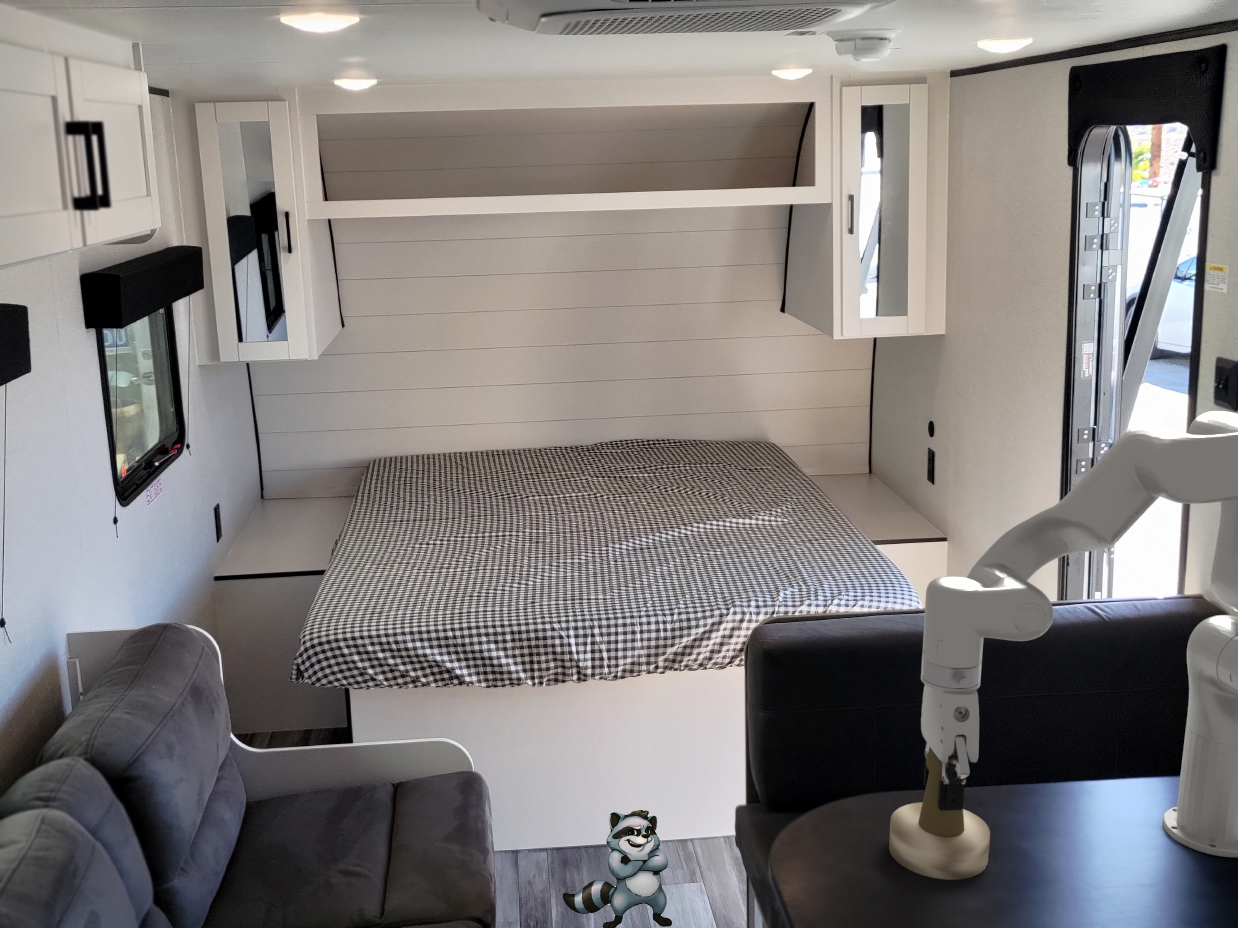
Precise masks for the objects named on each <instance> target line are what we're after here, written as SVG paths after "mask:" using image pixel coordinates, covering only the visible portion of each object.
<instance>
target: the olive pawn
mask: <svg viewBox="0 0 1238 928" xmlns="http://www.w3.org/2000/svg"><path fill="white" fill-rule="evenodd" d="M948 759H955V755H951V756H948ZM925 760H926V765H927V768H928V770H929V776H928V780H927V785H926V788H925V790H924V795H923V800H922V802H923V803H922V808H921V812H920V817H919V826H920V827H921V828H922V829H923V830H924V831H926V832H928V833H930V834H933V835H937V836H942V837H954V836H958V835H960V834H962V833H963V832H964V815H963V809H964V807H963V808H962V809H961V810H940V809H939V808H938V795H939V781H942V761H941V760H939V758H938V757H937V756H936V754H935V753H934V752H933V750H932V749H930V751H929V752H928V753H927V756H926V757H925ZM948 767H949V772H950V771H951V770H955V768H956V765H948Z"/></svg>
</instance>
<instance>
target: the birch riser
mask: <svg viewBox="0 0 1238 928" xmlns="http://www.w3.org/2000/svg"><path fill="white" fill-rule="evenodd" d="M922 803H923V801H922V802H921V801H920V802H913V803H910V804H909V803H908V804H906V805H903V806H899V807H898V808H897V809H896V810H895V811H893V813H892V814H891V816H890V822H889V823H890V824H889V825H890V826H889V838H888V839H889V841H888V843H889V844H888V851H889V853H890V855H891V857H892V859H894V860H895V861H896V862H897V863H898V864H899V865H900V866H902V867H903V868H905V869H906V870H909V871H911V872H913V873H916V874H918V875H921V876H925V877H928V878H933V879H937V880H938V879H939V880H954V881H955V880H965V879H969V878H972V877H975V876H977V875H979V874H981V873H982V872H984V871H985V869H986V868H987V867H986V866H988V863H989V854H990V843H991V842H990V840H991V830H990V827H989V826H988V824H987V823H986V821H984V820H983V819H982V818H981V817H979V816H978V815H977V814H974V813H973V812H971V811H969V810H966V809H964V808H963V815H964V832H963V833H962V834H960V835H958V836H954V837H942V836H937V835H933V834H930V833H928V832H926V831H924V830H923V829H922V828H921V827H920V826H919V817H920V812H921V808H922Z"/></svg>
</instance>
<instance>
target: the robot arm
mask: <svg viewBox="0 0 1238 928" xmlns="http://www.w3.org/2000/svg"><path fill="white" fill-rule="evenodd" d="M1187 431H1188V432H1187V433H1186V432H1184V431H1180V430H1178V429H1174V428H1171V427H1167V426H1163V425H1159V424H1153V423H1151V424H1150V423H1142V424H1138V425H1136V426H1132V427H1131V428H1129V429H1128V430H1127V431H1126V432H1124V433H1123V434H1122V435H1121V436H1119V438H1118V439H1117V440H1116V441H1115V442H1114V444H1113V445H1112V446H1110V448H1109V449H1108V450H1107V451H1105V453H1104V454H1103V455H1102V456H1101V457H1100V459H1098V461H1096V463H1095V464H1094V465H1093V466H1092V467H1091V468H1090V469H1089V471H1087V473H1086V474H1084V476H1083V477H1082V478H1081V479H1080V480H1079V481H1078V482H1077V483H1076V484H1075V485H1074V486H1073V488H1072V489H1071V490H1070V491H1069V492H1068V493H1067V494H1066V495H1065V496H1064V497H1063V498H1062V499H1061V500H1059V502H1057V503H1056V504H1055V505H1053V506H1051V507H1048V508H1046V509H1044V510H1042V511H1040V512H1038V513H1036V514H1035V515H1033V516H1031V517H1029V518H1027V519H1026V520H1024V521H1022V522H1020V523H1018V524H1017V525H1014V526H1013V527H1011V528H1009V530H1007V531H1006V532H1004V534H1003V535H1001V536H999V538H998V539H997V540H996V541H995V542H994V543H992V545H991V546H990V547H989V548H988V549H987V550H986V551H985V552H984V554H983V555H982V556H980V558H979V559H978V560H977V561H976V563H974V565H973V566H972V568H971V569H970V571H969V573H968V574H967V575H966V577H963V576H957V575H956V576H955V575H954V576H952V575H948V576H940V577H937V578H934V579H932V580H931V581H930V582H929V583H928V585H927V587H926V592H925V603H924V604H925V606H924V618H923V619H924V621H923V623H924V624H923V638H922V640H923V641H922V655H921V669H920V670H921V671H920V672H921V673H920V680H921V682H922V683H923V685H924V686H923V693H922V702H921V703H922V704H921V717H920V730H921V734H922V737H923V739H924V740H925V742H926V743H925V750H924V756H925V758H926V756H927V753H928V752H929V751H930V749H932V750H933V752H934V753H935V754H936V756H937V757H938V758H939V760H941V761H942V781H939V795H938V808H939V809H940V810H961V809H962V808H963V809H964V796H965V795H964V794H965V784H966V783H967V780H966V779H967V777H969V775H970V773H971V772H970V771H971V770H970V765H969V762H970V763H972V764H975V763H977V762H978V759H979V751H980V750H979V746H980V743H979V742H980V741H979V740H980V714H979V713H980V707H979V695H978V694H979V693H978V689H979V688H980V686H981V679H982V678H981V676H982V666H983V665H982V663H983V651H984V650H983V648H984V647H983V646H984V638H989V639H996V640H1006V641H1013V642H1016V641H1017V642H1025V641H1031V640H1035V639H1037V638H1039V637H1041V636H1043V635H1044V634H1046V632H1047V631H1048V630H1049V629H1050V628H1051V626H1052V623H1053V620H1054V608H1053V605H1052V602H1051V600H1050V599H1049V597H1048V596H1047V595H1046V594H1045V592H1043V591H1042V590H1041V589H1039V587H1037V586H1035V585H1034V584H1032V583H1031V582H1029V580H1030V578H1032V576H1034V575H1035V574H1036V573H1037V572H1038V571H1039V570H1040V569H1041V568H1043V567H1044V566H1046V565H1047V564H1049V563H1051V562H1053V561H1055V560H1056V559H1059V558H1062V557H1064V556H1068V555H1070V554H1071V555H1072V554H1078V553H1079V554H1080V553H1088V552H1094V551H1095V552H1096V551H1100V550H1105V549H1108V548H1111V547H1112V546H1115V545H1116V544H1117V543H1118V542H1119V541H1120V539H1121V538H1122V537H1123V536H1124V535H1125V534H1126V533H1127V532H1128V531H1129V530H1130V528H1131V527H1133V525H1134V524H1135V523H1136V522H1137V521H1138V520H1139V519H1140V518H1141V517H1142V516H1143V515H1144V513H1146V511H1148V509H1149V508H1150V507H1151V506H1152V505H1153V504H1154V503H1155V502H1156V501H1157V500H1158V499H1159V498H1160V497H1161V498H1163V499H1166V500H1168V501H1172V502H1174V503H1177V504H1184V505H1185V504H1187V505H1192V504H1193V505H1194V504H1195V505H1197V504H1209V503H1210V504H1212V503H1219V502H1220V518H1219V526H1218V531H1217V537H1216V544H1215V550H1214V556H1213V560H1212V561H1213V562H1212V567H1211V574H1210V588H1211V591H1212V593H1213V595H1214V597H1215V598H1216V599H1217V600H1218V601H1219V602H1221V603H1222V604H1224V605H1225V606H1227V608H1230V609H1231V610H1233V611H1235V612H1237V613H1238V413H1236V412H1231V411H1223V410H1212V411H1206V412H1204V413H1202V414H1200V415H1198V416H1197V417H1195V419H1194V420H1193V421H1192V422H1191V424H1190V426H1189V427H1188V430H1187ZM1186 664H1187V674H1188V688H1189V689H1188V703H1187V704H1188V706H1187V717H1186V724H1185V733H1184V743H1183V751H1182V760H1181V766H1180V767H1181V769H1180V775H1179V785H1178V786H1179V787H1178V794H1177V802H1176V806H1173V807H1171V808H1168V810H1166V811H1165V812H1164V814H1163V817H1162V818H1163V819H1162V827H1163V828H1164V831H1165V832H1166V834H1168V835H1169V836H1170V837H1171V838H1172V839H1174V840H1175V841H1176V842H1179V843H1180V844H1182V845H1183V846H1186V847H1188V848H1189V849H1193V850H1195V851H1198V852H1201V853H1205V854H1206V855H1207V854H1208V855H1212V856H1217V857H1224V858H1238V616H1236V615H1235V616H1234V615H1229V614H1219V615H1218V614H1217V615H1213V616H1210V617H1207V618H1205V619H1203V620H1202V621H1201V622H1199V623H1198V624H1197V625H1196V627H1195V628H1194V629H1193V630H1192V632H1191V634H1190V636H1189V639H1188V641H1187V648H1186ZM951 755H955V759H948V756H951ZM948 765H956V768H955V770H951V771H950V772H949V767H948ZM923 774H924V775H923V786H924V788H925V789H926V785H927V780H928V776H929V770H928V768H927V765H926V759H924V773H923Z"/></svg>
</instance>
